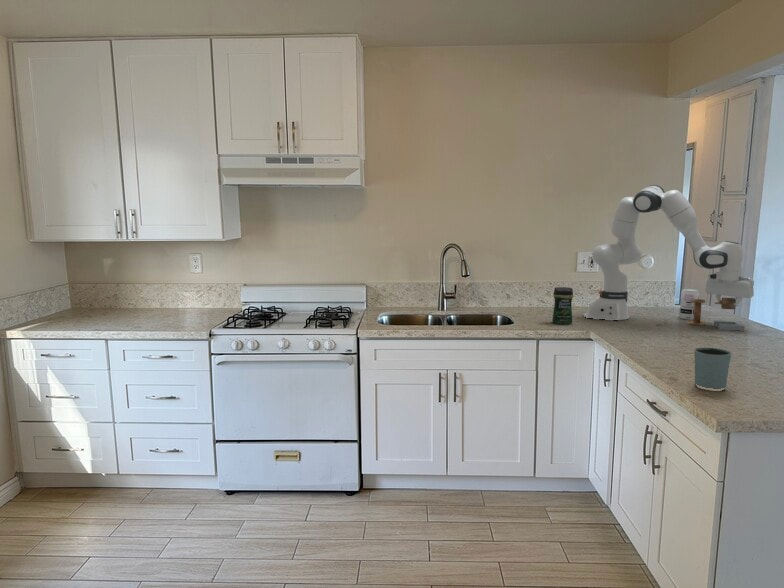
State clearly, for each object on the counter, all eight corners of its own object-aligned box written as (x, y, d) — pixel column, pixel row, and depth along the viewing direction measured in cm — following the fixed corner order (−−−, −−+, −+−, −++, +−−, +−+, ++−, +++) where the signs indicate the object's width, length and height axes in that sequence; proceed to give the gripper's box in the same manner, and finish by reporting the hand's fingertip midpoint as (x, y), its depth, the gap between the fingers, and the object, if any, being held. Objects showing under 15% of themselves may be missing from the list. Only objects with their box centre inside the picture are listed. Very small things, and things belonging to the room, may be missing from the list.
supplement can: (693, 317, 282) (694, 288, 280) (700, 320, 274) (702, 291, 272) (676, 317, 283) (678, 288, 281) (683, 320, 275) (685, 291, 273)
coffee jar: (553, 324, 270) (554, 288, 267) (551, 321, 278) (552, 286, 275) (573, 325, 268) (574, 288, 266) (571, 322, 276) (572, 286, 273)
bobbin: (690, 325, 263) (691, 301, 261) (687, 322, 269) (688, 298, 268) (706, 325, 261) (708, 301, 259) (703, 322, 267) (704, 299, 265)
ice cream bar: (715, 308, 254) (716, 298, 253) (713, 307, 257) (714, 297, 256) (734, 309, 251) (735, 298, 250) (733, 308, 254) (734, 297, 253)
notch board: (719, 330, 251) (719, 324, 251) (713, 325, 261) (713, 320, 261) (744, 331, 248) (744, 325, 248) (737, 326, 258) (737, 321, 258)
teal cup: (694, 390, 170) (697, 353, 168) (689, 381, 179) (691, 345, 177) (731, 393, 166) (734, 356, 164) (724, 383, 175) (727, 348, 174)
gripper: (757, 277, 244) (755, 307, 246) (712, 273, 261) (710, 302, 263) (750, 278, 241) (748, 309, 243) (704, 274, 258) (702, 303, 260)
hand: (728, 305), depth 253 cm, fingers closed on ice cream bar, 6 cm apart
